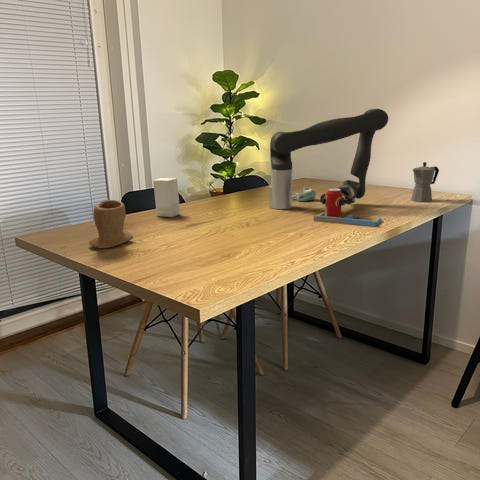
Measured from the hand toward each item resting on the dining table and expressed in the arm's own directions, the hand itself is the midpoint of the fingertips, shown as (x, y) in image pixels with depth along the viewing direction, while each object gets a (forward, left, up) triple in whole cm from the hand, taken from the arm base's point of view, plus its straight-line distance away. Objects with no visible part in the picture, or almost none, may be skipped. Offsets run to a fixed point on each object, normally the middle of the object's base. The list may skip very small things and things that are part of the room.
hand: (331, 202), depth 184 cm
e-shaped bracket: (+6, +2, -7) cm, 10 cm away
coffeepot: (+28, +57, -8) cm, 64 cm away
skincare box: (-65, -19, -8) cm, 69 cm away
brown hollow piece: (-55, -63, -8) cm, 84 cm away
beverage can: (0, +2, -7) cm, 8 cm away
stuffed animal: (-25, +35, -8) cm, 44 cm away
